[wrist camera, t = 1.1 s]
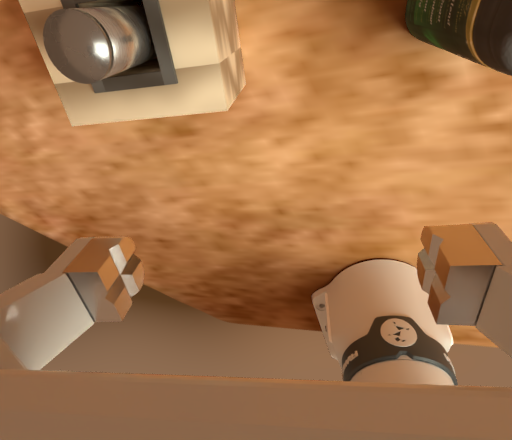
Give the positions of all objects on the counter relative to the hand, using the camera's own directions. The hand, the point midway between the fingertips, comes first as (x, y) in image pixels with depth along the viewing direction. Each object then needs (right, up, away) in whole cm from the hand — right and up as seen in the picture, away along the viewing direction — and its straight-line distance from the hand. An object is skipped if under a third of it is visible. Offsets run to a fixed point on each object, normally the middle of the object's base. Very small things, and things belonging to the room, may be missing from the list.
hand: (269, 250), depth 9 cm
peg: (-10, +17, +19) cm, 27 cm away
